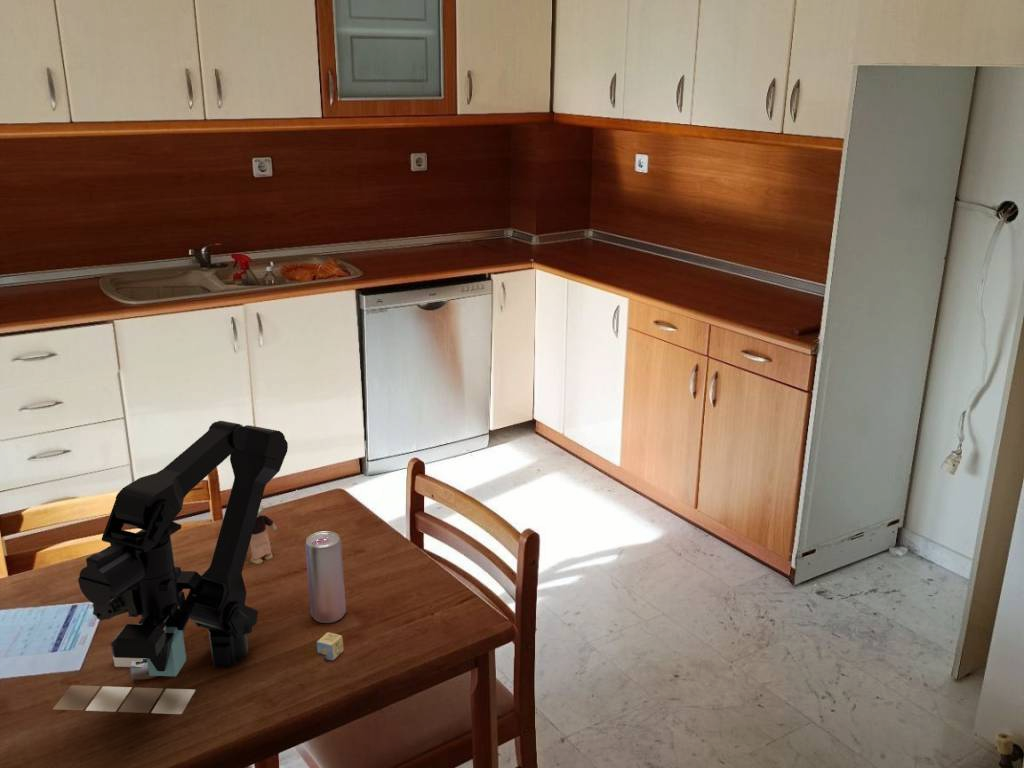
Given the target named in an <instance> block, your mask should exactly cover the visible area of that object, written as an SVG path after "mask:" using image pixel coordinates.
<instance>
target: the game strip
mask: <svg viewBox="0 0 1024 768" xmlns="http://www.w3.org/2000/svg"><path fill="white" fill-rule="evenodd" d="M99 689H100V690H99ZM164 689H165V688H161V687H160V688H159V687H157V688H156V687H134V688H133V687H132V686H129V687H128V686H107V685H106V686H102V687H101V686H100V685H76V684H75V685H73V684H71V685H70V686H69V687H68V689H67V690H66V691H65V692H64V694H63V695H62V697H61V698H60V699H59V701H57V703H56V704H55V706H54V707H53V708H52V710H55V711H57V710H58V711H82V712H83V711H84V709H85V708H86V709H85V711H87V712H109V713H112V712H113V713H116V712H117V710H118V713H132V714H133V713H138V714H139V713H141V714H149V713H150V711H151V710H152V711H151V714H164V715H166V714H167V715H182V714H183V713H184V711H185V709H186V707H187V706H188V705H189V702H190V701H191V699H192V697H193V695H194V694H195V693H196V689H191V688H189V689H188V688H186V689H185V688H166V689H165V690H164ZM98 690H99V691H98ZM163 690H164V691H163ZM127 695H128V696H127ZM160 695H161V696H160ZM93 697H94V698H93ZM126 697H127V698H126ZM159 697H160V698H159ZM92 698H93V699H92ZM125 699H126V700H125ZM158 699H159V700H158ZM157 700H158V701H157ZM90 701H91V702H90ZM156 702H157V703H156ZM122 703H123V704H122ZM88 704H89V705H88ZM154 705H155V706H154ZM120 706H121V707H120ZM153 706H154V708H153ZM119 707H120V708H119Z"/></svg>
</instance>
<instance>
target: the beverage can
mask: <svg viewBox="0 0 1024 768" xmlns="http://www.w3.org/2000/svg"><path fill="white" fill-rule="evenodd" d="M304 548H305V559H306V569H307V570H306V571H307V580H308V582H307V583H308V591H309V603H310V604H309V605H310V613H311V617H312V618H313V619H314V620H315V621H316V622H318V623H322V624H331V623H332V624H333V623H336V622H338V621H339V620H341V619H342V618H343V617H344V615H345V613H346V611H347V607H346V592H345V579H344V578H345V576H344V565H343V564H344V563H343V554H342V553H343V551H342V550H343V549H342V542H341V539H340V535H339V534H338V533H336V532H334V531H329V530H324V531H322V530H321V531H316V532H314V533H312V534H310V535H309V536H307V538H306V539H305V547H304Z"/></svg>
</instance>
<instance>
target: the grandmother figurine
mask: <svg viewBox="0 0 1024 768" xmlns="http://www.w3.org/2000/svg"><path fill="white" fill-rule="evenodd" d="M264 508H265V506H264V505H263V503H262V502H261V504H260V507H259V511H258V515H257V518H256V522H255V526H254V529H253V533H252V537H251V540H250V551H251V558H250V561H249V562H250V563H253V564H255V565H259V564H262V563H263V562H264V560H272V559H273V557H274V556H273V553H272V549H271V543H270V538H269V534H268V530H267V528H266V526H268V527H269V528H270V529H271V531H272V532H276V531H277V529H278V528H277V526H276V525H275V523H274V521H273V519H272V518H270V517H268V516H267V515H262V513H263V511H264ZM263 559H264V560H263Z"/></svg>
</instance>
